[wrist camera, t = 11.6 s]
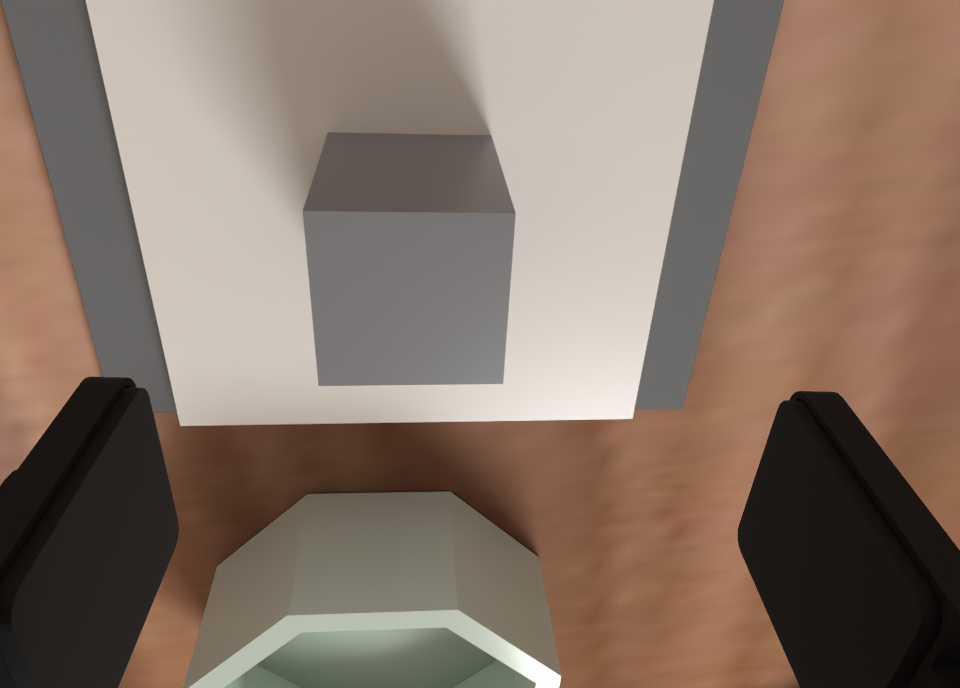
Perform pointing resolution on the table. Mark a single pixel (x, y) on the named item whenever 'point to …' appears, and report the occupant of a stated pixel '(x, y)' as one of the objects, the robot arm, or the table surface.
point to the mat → (115, 244)
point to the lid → (401, 199)
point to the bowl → (377, 601)
